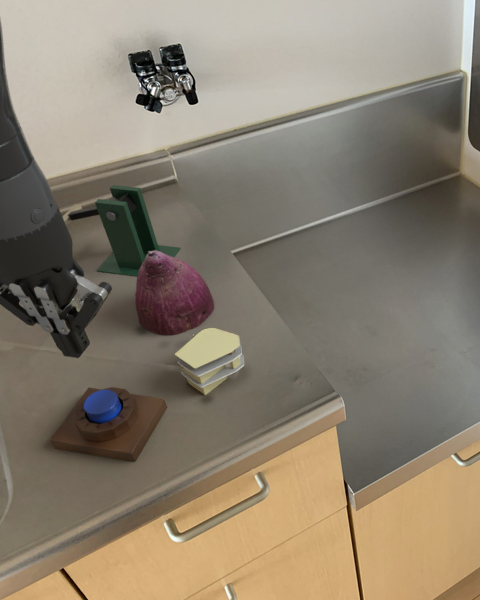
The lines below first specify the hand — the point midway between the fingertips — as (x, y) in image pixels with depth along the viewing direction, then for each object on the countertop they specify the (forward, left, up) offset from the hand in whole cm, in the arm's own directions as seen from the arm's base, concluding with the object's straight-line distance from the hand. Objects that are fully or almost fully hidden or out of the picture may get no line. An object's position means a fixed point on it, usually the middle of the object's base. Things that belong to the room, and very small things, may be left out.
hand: (76, 351), depth 64 cm
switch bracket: (-12, +30, -13) cm, 35 cm away
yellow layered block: (+9, +10, -13) cm, 19 cm away
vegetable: (-1, +20, -13) cm, 24 cm away
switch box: (0, 0, -13) cm, 13 cm away
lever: (-16, +30, -5) cm, 34 cm away
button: (0, 0, -10) cm, 10 cm away
